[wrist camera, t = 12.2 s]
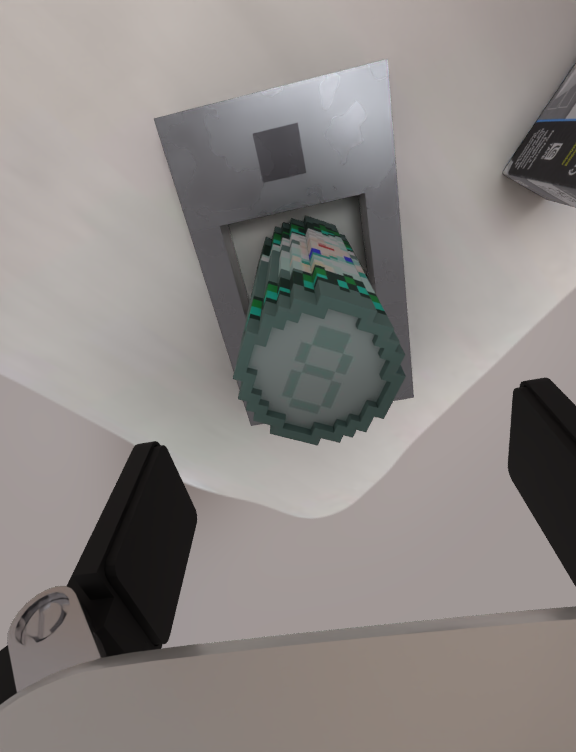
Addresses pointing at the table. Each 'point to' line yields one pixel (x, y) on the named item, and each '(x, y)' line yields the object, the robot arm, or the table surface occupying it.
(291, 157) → the rail plate
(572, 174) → the label tape cartridge
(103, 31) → the table surface
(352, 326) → the can
